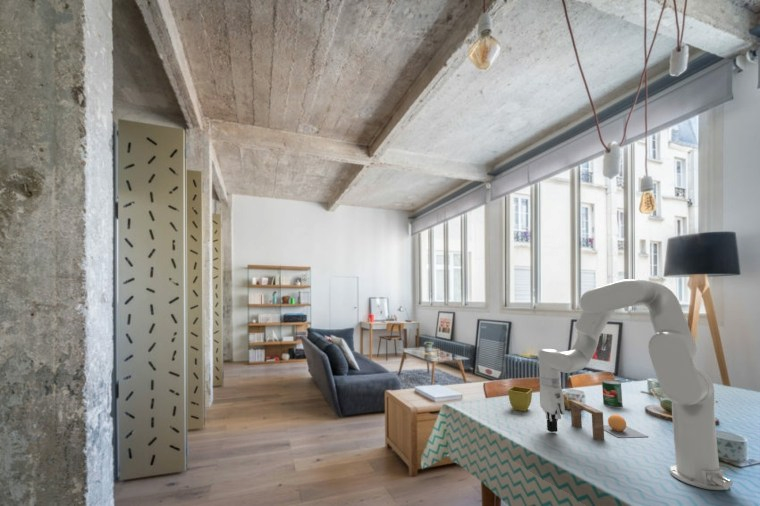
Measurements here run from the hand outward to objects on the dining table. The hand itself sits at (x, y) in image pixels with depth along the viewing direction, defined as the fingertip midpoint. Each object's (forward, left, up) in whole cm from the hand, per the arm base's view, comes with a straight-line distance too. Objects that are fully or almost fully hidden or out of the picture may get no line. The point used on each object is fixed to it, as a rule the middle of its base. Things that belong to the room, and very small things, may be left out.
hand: (552, 430), depth 137 cm
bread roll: (+30, -26, -1) cm, 40 cm away
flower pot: (+28, -1, -1) cm, 28 cm away
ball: (+1, -27, +2) cm, 27 cm away
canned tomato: (+32, -49, -1) cm, 59 cm away
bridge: (0, -14, -1) cm, 14 cm away
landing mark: (0, -28, -1) cm, 28 cm away
